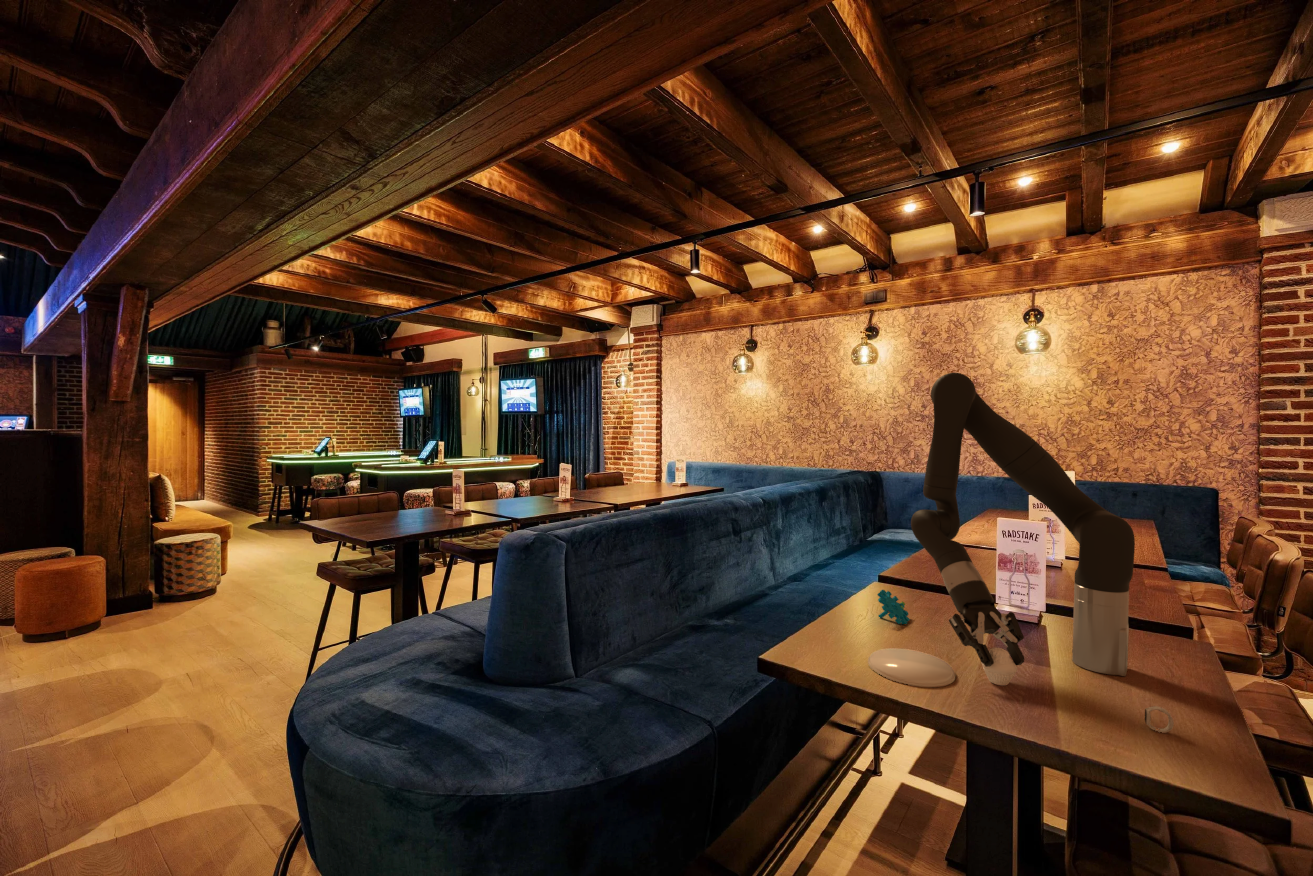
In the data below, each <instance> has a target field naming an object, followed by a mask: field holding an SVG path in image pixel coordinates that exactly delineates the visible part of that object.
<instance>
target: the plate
mask: <svg viewBox="0 0 1313 876" xmlns="http://www.w3.org/2000/svg"><path fill="white" fill-rule="evenodd" d="M867 658H868V659H867V665H868V664H869V665H868V667H869V666H870V667H869V668H870V669H871V670H872V669H873V670H874V671H875V672H877V673H878V674H877V673H876V674H877V675H879V674H880V675H882V676H884V677H886V678H885V679H887V680H889V679H890V680H889V681H892V680H893V682H895V681H896V682H895V683H898V682H899V684H902V683H904V684H903V685H906V684H908V685H907V686H913V687H920V688H921V687H922V688H940V687H945V686H949V685H950V684H951V685H952V683H953V682H955V680H956V672H955V670H954V668H953V667H952V666H951V664H949V663H948V662H947V661H946V660H944V659H942V658H939V657H937V656H935V655H933V654H930V653H926V652H922V651H920V650H914V649H908V648H898V647H897V648H896V647H894V648H893V647H891V648H890V647H889V648H888V647H887V648H881V649H876V650H875V651H873V652H871V654H870V655H869V656H868V657H867ZM873 670H872V671H873ZM874 671H873V672H874ZM875 672H874V673H875ZM880 675H879V676H880ZM882 676H881V677H882ZM884 677H883V678H884Z"/></svg>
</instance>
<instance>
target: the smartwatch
mask: <svg viewBox="0 0 1313 876" xmlns="http://www.w3.org/2000/svg"><path fill="white" fill-rule="evenodd" d="M1152 711H1159V712H1161V713H1163V714H1165V715H1167V718H1168V719H1167V720H1168V722H1167V726H1165V728H1159V729H1160V730H1156V729H1155V728H1156V727H1155V726H1153V725H1152V724H1151V722H1152V721H1151V720H1152V717H1151V716H1152V715H1151V712H1152ZM1144 722H1145V725H1146V726H1148V727H1149V729H1151V730H1153V731H1154V730H1155V731H1154V732H1156V731H1158V732H1157V733H1160V732H1162V733H1161V734H1164V733H1165V734H1167V733H1169V732H1170V731H1172V730H1173V728H1174V724H1175V723H1174V719H1173V717H1172V714H1171V713H1170V712H1169V711H1168V709H1166V708H1163V707H1162V706H1158V705H1154V706H1149V707H1147V708H1144Z"/></svg>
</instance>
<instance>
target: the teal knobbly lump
mask: <svg viewBox="0 0 1313 876" xmlns="http://www.w3.org/2000/svg"><path fill="white" fill-rule="evenodd" d="M892 594H893V593H892V592H890V591H889V590H887V591H886V590H885V589H881V590H880V591H879V592H878V593H877V596H878V597H879V598H878V600H877V601H878V604H882V606H881V608H882V610H883V611H882V612H880V613H879V614H878V618H879V617H880V618H879V619H883V618H884V617H886V616H887V615H888V618H890V619H894V618H896V619H895V620H894V621H895V622H896V623H897V624H898V625H899V624H902V625H903V624H906V625H907V624H908V622H909V621H910V620H911V619H910V618H909V617H908V616H909V611H907V610H905V606H906V603H905V602H904V601H901V602H898V601H899V600H900V599H899V598H898V596H896V595H894V596H893V597H892Z"/></svg>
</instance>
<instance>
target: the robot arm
mask: <svg viewBox="0 0 1313 876" xmlns="http://www.w3.org/2000/svg"><path fill="white" fill-rule="evenodd" d="M930 399H931V402H932V404H933V405H932V406H933V431H932V436H931V443H930V448H929V451H928V457H927V461H926V466H925V472H924V473H925V474H924V481H923V489H922V493H923V496H924V497H925V498H927V499H929V500H932V501H934V502H935V505H936V510H935V509H919V510H917V511H915V512H914V513H913V514H912V517H911V519H910V528H911V531H912V533H913V536H914V537H915V538H916V540H917V541H918V542H919V544H921V546H922V548H924V550H926V552H927V554H929V555H930V556H931V558H933V560H934V562H935V564H936V567H937V568H938V571H939V572H940V575H941V578H942V581H943V584H944V587H946V590H947V592H948V594H949V596H950V598H951V600H952V603H953V605H954V607H955V609H956V611H957V612H958V613H959V614H958V613H954V614H953V615H952V616H951V617H950V618H949V619H948V623H949V625H951V628H952V629H953V631H954V632H955V634H956V635H957V637H958V639H959V640H960V642H961V644H962V646H964V647H968V646H969V647H972V648H973V649H974V651H975V652H976V654H977V656H978V658H979V660H980V662H982V663H983V664H984V665H985V666H986V667H990V666H991V665H992V664H994V661H993V659H992V657H991V655H990V652H989V650H990V649H989V648H988V647H987V645H986V644H984V643H985V642H984V635H985V634H989V635H992V636H993V637H994V638H995V639H997V640H999V641H1001V642H1002V643H1003V645H1004V646H1006V649H1005V650H1006V651H1007V652H1008V653H1009V654H1010V658H1011V659H1012V661H1013V662H1014V663H1015V665H1016V666H1021V665H1022V664H1024V662H1025V656H1024V654H1023V652H1022V650H1021V648H1020V646H1019V643H1020V642H1021V641H1022V640H1024V638H1025V636H1024V635H1023V632H1022V629H1021V626H1020V624H1019V621H1018V620H1017V617H1016V614H1015V613H1014V612H1013V611H1008V612H1007V613H1002V612H1001V611H1000V610H999V609H997V607H996V606H995V599H994V597H993V595H992V594H991V592H990V590H989V588H988V586H987V584H986V582H985V580H984V579H983V577H982V575H981V573H980V571H979V570H978V569H977V567H976V566H975V564H974V562H973V561H972V558H971V557H970V555H969V554H968V551H967V550H966V548H965V546H964V545H963V544H962V543H960V542H958V541H955V540H953V539H955V538H956V536H957V535H958V534H959V531H960V528H961V519H960V514H959V508H958V507H959V506H958V500H957V499H958V498H957V488H958V483H959V482H958V481H959V472H960V466H961V465H960V464H961V455H962V454H961V453H962V444H963V436H964V432H965V431H967V434H969V435H970V436H971V437H972V438H973V439H974V440H975V441H976V443H977V444H978V445H979V446H980V448H981V449H982V450H983V451H984V452H985V454H987V456H988V457H989V458H990V459H991V460H992V461H993V463H995V464H996V465H997V466H998V468H999V469H1001V471H1003V472H1004V474H1006V475H1007V476H1008V477H1009V478H1010V479H1011V480H1012V481H1013V482H1015V483H1016V484H1017V485H1018V486H1019V487H1020V488H1022V489H1023V490H1024V491H1026V493H1028V494H1030V496H1032V497H1033V498H1034V499H1036V500H1037V501H1039V502H1040V503H1042V504H1043V505H1044V506H1046V508H1048V510H1050V511H1051V512H1052V513H1053V514H1054V515H1055V516H1056V517H1057V519H1058V520H1059V521H1060V522H1061V523H1062V524H1063V525H1064V527H1065V528H1066V529H1067V530H1068V532H1069V533H1070V535H1072V536H1073V538H1075V540H1076V541H1077V542H1078V543H1077V544H1078V545H1079V546H1078V547H1079V549H1078V565H1077V568H1076V569H1075V571H1074V582H1073V583H1074V585H1073V589H1074V591H1073V622H1072V652H1071V653H1072V656H1071V657H1072V659H1071V660H1072V662H1073V663H1074V664H1075V665H1076V666H1078V667H1080V668H1083V669H1086V670H1088V671H1093V672H1095V673H1100V674H1105V675H1106V674H1107V675H1114V676H1122V677H1126V676H1127V671H1128V662H1129V661H1128V659H1129V658H1128V656H1129V633H1130V632H1129V627H1130V624H1129V602H1130V601H1129V599H1130V583H1131V580H1132V578H1133V574H1134V567H1135V566H1134V563H1135V550H1136V547H1135V546H1136V543H1135V541H1136V540H1135V533H1134V530H1133V528H1132V526H1131V525H1130V523H1128V521H1127V520H1125V519H1123V518H1121V517H1120V516H1118V515H1116V514H1114V513H1112V512H1110V511H1109V510H1107V509H1105V508H1104V507H1102V506H1101V505H1100V504H1098V502H1096V501H1094V500H1093V498H1091V497H1089V496H1088V494H1087V495H1086V493H1084V492H1083V491H1082V490H1081V489H1080V488H1079V487H1078V486H1077V485H1076V484H1075V483H1074V482H1073V481H1072V479H1071V478H1070V477H1069V475H1068V474H1067V472H1066V471H1065V469H1063V467H1062V466H1061V465H1060V463H1058V462H1057V460H1056V459H1055V458H1054V457H1053V455H1051V454H1050V453H1049V451H1047V450H1046V449H1045V448H1044V447H1043V446H1042V445H1040V444H1039V442H1037V441H1036V440H1035V439H1034V438H1033V437H1031V436H1030V435H1029V434H1028V433H1027V432H1025V431H1023V430H1022V429H1021V428H1020V427H1018V426H1016V424H1013V423H1012V422H1010V421H1009V420H1007V419H1006V418H1004V417H1002V416H1001V415H1000V414H998V413H997V412H996V411H994V410H993V409H992V407H990V406H989V404H988V403H986V401H985V400H984V399H983V398H982V397H981V395H979V393H978V392H977V391H976V387H975V383H974V382H973V380H972V379H971V378H970V377H969V376H967V375H966V374H963V373H960V372H949V373H945V374H943V375H941V376H940V377H938V378H937V380H936V381H934V383H933V385H932V386H931V389H930ZM967 626H968V627H969V629H968V627H967ZM999 630H1000V631H999ZM982 663H981V664H982Z"/></svg>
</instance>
